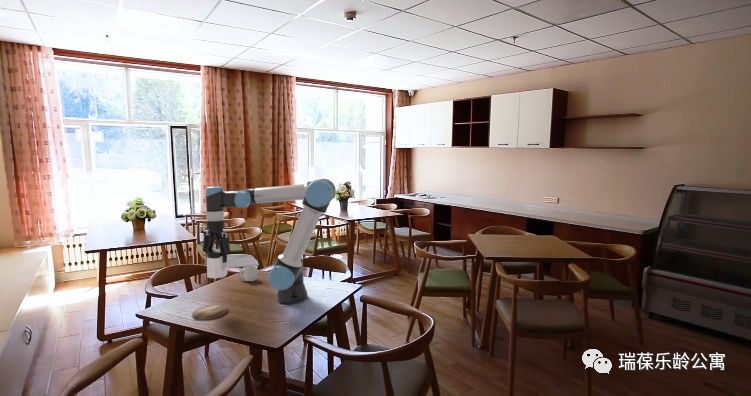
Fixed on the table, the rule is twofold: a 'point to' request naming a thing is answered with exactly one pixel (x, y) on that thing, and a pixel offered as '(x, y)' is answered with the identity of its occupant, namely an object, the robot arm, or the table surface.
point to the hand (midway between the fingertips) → (216, 268)
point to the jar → (215, 264)
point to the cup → (249, 273)
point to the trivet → (210, 312)
